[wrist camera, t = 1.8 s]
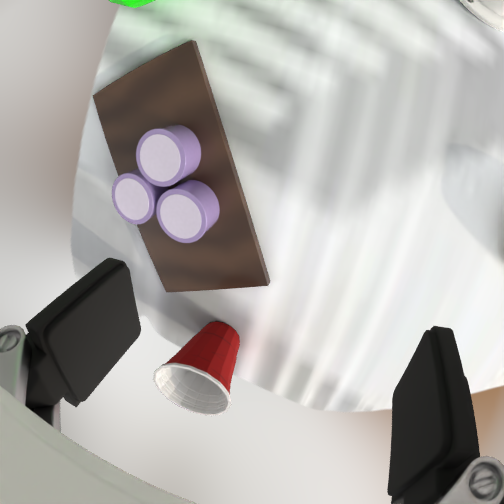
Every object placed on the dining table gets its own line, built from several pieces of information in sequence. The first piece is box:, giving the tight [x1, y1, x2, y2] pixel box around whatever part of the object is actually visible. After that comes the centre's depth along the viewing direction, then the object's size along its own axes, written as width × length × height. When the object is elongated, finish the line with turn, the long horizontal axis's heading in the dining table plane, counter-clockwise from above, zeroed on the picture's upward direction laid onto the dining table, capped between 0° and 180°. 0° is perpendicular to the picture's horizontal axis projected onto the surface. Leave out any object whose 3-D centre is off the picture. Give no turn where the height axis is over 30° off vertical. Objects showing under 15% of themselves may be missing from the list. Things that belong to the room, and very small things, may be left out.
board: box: [93, 40, 270, 292], centre depth 36 cm, size 30×16×1 cm, turn 17°
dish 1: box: [136, 124, 201, 187], centre depth 32 cm, size 6×6×4 cm
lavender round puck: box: [156, 180, 220, 243], centre depth 35 cm, size 6×6×4 cm
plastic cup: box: [153, 321, 240, 415], centre depth 42 cm, size 11×11×12 cm
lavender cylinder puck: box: [112, 167, 169, 224], centre depth 36 cm, size 6×6×4 cm
